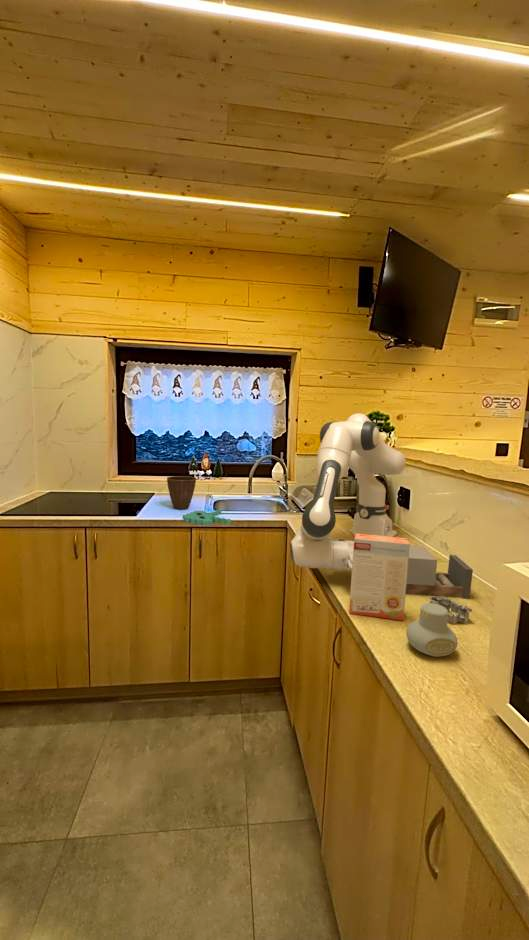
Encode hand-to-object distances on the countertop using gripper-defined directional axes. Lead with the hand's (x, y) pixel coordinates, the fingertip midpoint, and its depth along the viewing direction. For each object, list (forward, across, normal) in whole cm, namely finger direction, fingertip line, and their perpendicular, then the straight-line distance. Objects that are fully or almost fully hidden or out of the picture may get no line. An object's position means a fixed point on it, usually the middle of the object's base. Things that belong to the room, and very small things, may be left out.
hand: (385, 558), depth 133 cm
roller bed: (+13, 0, +8) cm, 16 cm away
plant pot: (-87, +85, +9) cm, 122 cm away
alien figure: (-70, +66, +9) cm, 97 cm away
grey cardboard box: (+8, 0, +5) cm, 10 cm away
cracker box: (-6, -20, +9) cm, 23 cm away
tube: (-14, +34, +9) cm, 38 cm away
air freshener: (+3, -37, +9) cm, 38 cm away
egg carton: (+13, -18, +9) cm, 24 cm away
